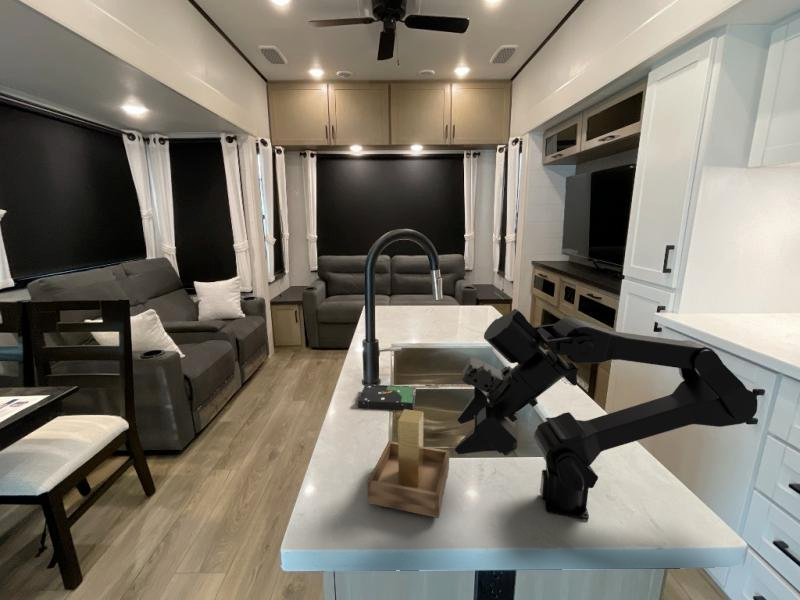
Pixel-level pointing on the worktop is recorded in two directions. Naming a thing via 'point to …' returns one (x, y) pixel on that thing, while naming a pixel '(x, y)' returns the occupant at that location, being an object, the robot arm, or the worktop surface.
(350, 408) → the worktop surface
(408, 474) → the brass bar
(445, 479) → the wooden storage tray
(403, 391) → the disk drive
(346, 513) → the worktop surface
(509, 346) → the robot arm
